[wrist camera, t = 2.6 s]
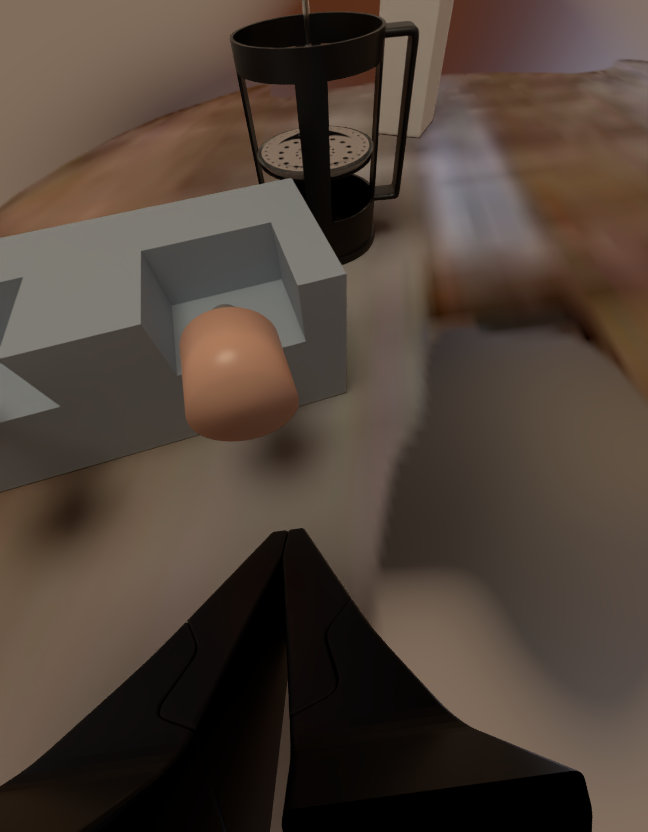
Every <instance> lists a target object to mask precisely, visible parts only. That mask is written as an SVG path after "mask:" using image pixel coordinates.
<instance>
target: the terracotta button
mask: <svg viewBox="0 0 648 832" xmlns="http://www.w3.org/2000/svg"><path fill="white" fill-rule="evenodd" d="M179 347H180V359H181V370H182V382H183V393H184V404H185V415H186V420H187V423H188V425H189V426H190V427H191V428H192V429H193V430H194V431H195V432H196V433H198V434H200V435H202V436H204V437H206V438H210V439H213V440H219V441H243V440H249V439H254V438H258V437H261V436H264V435H266V434H269V433H271V432H273V431H275V430H277V429H278V428H280V427H282V426H283V425H284V424H286V423H287V422H288V421H289V420H290V419H291V418H292V417H293V415H294V414H295V412H296V410H297V408H298V405H299V396H298V393H297V390H296V387H295V384H294V381H293V378H292V375H291V372H290V369H289V366H288V363H287V360H286V357H285V354H284V350H283V347H282V344H281V341H280V338H279V335H278V332H277V330H276V328H275V326H274V325H273V324H272V322H271V321H270V320H268V319H267V318H266V317H265V316H263V315H262V314H260V313H258V312H255V311H253V310H250V309H246V308H240V307H235V306H233V305H229V304H221V305H218V306H216V307H214V308H213V309H212V310H210V311H207V312H205V313H203V314H201V315H199V316H197V317H196V318H195V319H193V320H192V321H191V322H190V323H189V324H188V325H187V326H186V328H185V329H184V330H183V333H182V335H181V338H180V344H179Z"/></svg>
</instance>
